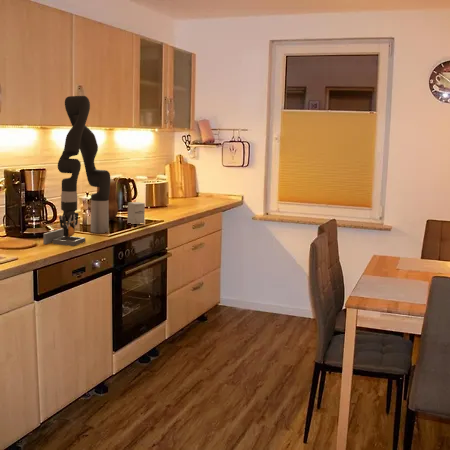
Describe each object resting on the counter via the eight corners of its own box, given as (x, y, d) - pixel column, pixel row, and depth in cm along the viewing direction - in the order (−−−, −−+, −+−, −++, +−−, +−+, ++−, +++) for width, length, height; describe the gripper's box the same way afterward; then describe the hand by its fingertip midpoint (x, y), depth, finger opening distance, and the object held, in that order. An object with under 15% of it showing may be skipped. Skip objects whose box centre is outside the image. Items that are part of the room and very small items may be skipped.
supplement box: (133, 225, 346) (134, 203, 344) (127, 223, 352) (127, 202, 350) (144, 224, 351) (145, 203, 349) (137, 222, 357) (138, 201, 354)
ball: (67, 235, 293) (67, 225, 292) (76, 236, 291) (76, 226, 290) (61, 236, 288) (61, 226, 287) (70, 237, 286) (70, 227, 286)
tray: (65, 239, 297) (65, 235, 296) (85, 242, 294) (85, 237, 293) (53, 243, 286) (53, 239, 286) (73, 246, 283) (73, 241, 283)
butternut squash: (90, 221, 354) (91, 179, 350) (101, 218, 367) (101, 177, 363) (112, 223, 351) (112, 180, 346) (122, 220, 363) (122, 178, 359)
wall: (61, 238, 300) (61, 228, 299) (63, 238, 300) (63, 228, 299) (43, 243, 285) (43, 233, 284) (45, 244, 285) (45, 233, 284)
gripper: (70, 198, 294) (70, 232, 297) (53, 201, 281) (53, 237, 284) (83, 199, 292) (83, 233, 295) (68, 202, 279) (67, 238, 282)
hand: (69, 235), depth 289 cm, fingers closed on ball, 5 cm apart
